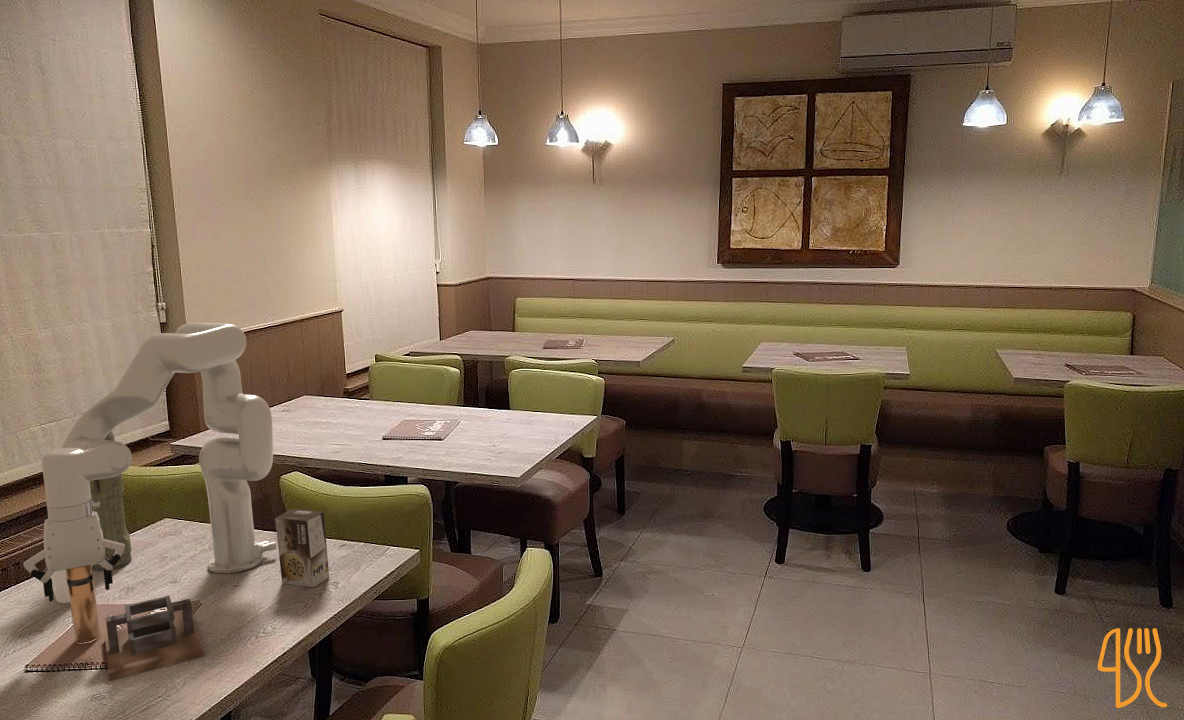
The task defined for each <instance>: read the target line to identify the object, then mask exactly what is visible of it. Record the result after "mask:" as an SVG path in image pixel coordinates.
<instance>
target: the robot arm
mask: <svg viewBox="0 0 1184 720" xmlns="http://www.w3.org/2000/svg"><path fill="white" fill-rule="evenodd" d="M246 347H247V337H246V335H245V332H244V331H243V329H241V328H240V327H239V326H238V325H235V324H231V323H217V322H216V323H215V322H212V323H211V322H189V323H185V324H182V325H180V326H179V327H178V328H177V329H176V331H175V332H174V333H171V332H170V333H166V332H162V333H154V334H152V335H150V336H148V337H147V338H145V340H143V343H142V344H141V345H140V347H139V349H138V350H137V352H136V354H135V355H134V357H133V359H132V360H131V362H130V364H129V365H128V368H127V369H126V370H125V372H124V373H123V376H122V377H121V378H120V380H119V382H118V384H117V385H116V387H115V388H114V389H113V390H112V391H111V392H109V393H108V394H106V395H105V396H103V398H101V399H100V400H99V401H97V402H96V403H95V404H94V405H92V406H91V407H90V408H88V409H87V410H86V411H85V412H84V413H83V414H82V415H81V416H79V418H78V420H77V421H76V422H75V424H74V425H73V427H72V428H71V431H70V432H69V433H68V435H67V436H66V438H65V440H64V443H63V444H62V447H61V448H57V449H52V450H50V451H48V452H46V453H45V454H44V455H43V456H42V458H41V467H42V474H43V483H44V491H45V500H46V508H47V518H46V519H45V520H44V524H43V525H44V526H43V549H42V550H40V551H38V553H36V554H34V555H33V556H31V557H29V558H28V559H26V560H24V562H23V567H24V568H25V570H26V571H27V572H28V573H29V574H30V575H31V577H33V578H35V579H37V580H39V581H40V582H41V583H42V584H43V595H44V597H45V598H46V597H48V602H50V603H51V602H53V601H54V597H55V591H54V587H53V583H52V578H51V576H52V575H53V574H54V572H55V571H62V570H67V569H73V568H78V567H83V566H89V565H91V566H92V565H94V564H97V563H98V564H99V565H101V566H102V567H104V568H103V571H102V572H103V579H104V589H105V590H106V591H110V585H112V584H113V572H112V570H114V569H113V567H114V565H115V564H116V563H117V562H118V561H119V560H120V557H121V555H122V553H123V551H124V549H125V545H124V544H123V543H119V542H114V541H110V540H106V539H103V533H102V528H101V523H100V520H99V517H98V514H97V512H94V511H93V510H94V509H96V508H99V507H101V506H100V501H93V500H91V491H90V481H93V480H99V479H106V478H112V477H116V476H118V475H120V474H122V475H123V474H124V473H125V472H126V471H127V470H128V469H129V468H130V466H131V465H132V461H133V454H132V452H131V449H130V448H129V447H128V446H127V445H126V444H124V443H123V442H119V441H116V440H115V441H110V440H104V439H105V437H106V436H107V435H108V433H109V432H110V431H111V430H112V431H113V430H114V429H115V428H116V427H118V426H119V425H120V424H122V423H124V422H127V421H128V420H130V419H133V418H135V417H138V416H141V415H143V414H145V413H147V412H149V411H151V410H153V409H154V408H155V407H156V406H157V405H158V402H159V400H160V399H161V397H162V396H163V393H164V392H165V390H166V388H167V386H168V385H169V384H170V381H171V379H172V378H173V377H174V375H175V374H176V373H181V374H182V373H183V374H193V373H199V372H200V376H201V381H202V382H201V383H202V398H203V399H202V401H203V415H204V417H203V418H204V422H205V425H206V427H207V428H208V429H209V430H211V431H213V432H217V433H223V434H229V435H230V434H232V435H233V434H234V435H238V437H237V438H236V437H235V438H234V437H226V436H225V437H224V436H223V437H221V436H220V437H215V438H213V439H210V440H208V441H207V442H205V443H204V445H203V446H202V448H201V449H200V452H199V456H198V461H199V467H200V471H201V473H202V477H203V479H204V482H205V488H206V493H207V500H208V510H209V511H208V512H209V518H210V529H211V531H210V532H211V538H212V540H211V541H212V548H213V557H212V558H211V559H209V561H207V568H208V570H209V571H211V572H213V573H215V574H216V573H217V574H232V573H233V574H234V573H238V572H243V571H246V570H249V569H252V568H255V567H257V566H258V565H259V564H262V562H263V561H264V552H270V551H275V550H277V543H276V541H273V542H269V541H268V540H266V541H262V542H258V541H257V540H256V537H255V526H254V518H253V509H252V508H253V507H252V494H251V489H250V486H249V483H248V481H252V482H256V481H260V480H262V479H264V478H266V476H268V474H269V473H270V471H271V469H272V467H273V461H274V445H273V443H274V442H273V440H274V438H273V417H272V411H271V408H270V405H269V404H268V403H267V401H265V399H264V398H262V396H261V397H260V396H258V395H255V394H247V393H246V394H244V393H243V387H242V385H243V384H242V377H241V376H242V375H241V370H240V366H239V364H238V362H237V361H236V360H237V359H239V358H240V357H241V356H242V355H243V353H245V350H246ZM105 547H107V548H111V549H115V550H116V551H115V553H114V555H113V556H112V557H111V558H110V559H108V558H106V557H105ZM42 560H44V561H45V567H46V568H45V569H44V570H41V569H39V568H38V567H36V564H37V563H39V562H41V561H42Z"/></svg>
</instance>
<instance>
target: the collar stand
mask: <svg viewBox="0 0 1184 720" xmlns="http://www.w3.org/2000/svg"><path fill="white" fill-rule="evenodd" d="M164 608H166V610H163V611H158V612H153V613H150V614H146V615H141V616H138V617H137V616H136V617H132V616H134V615H138V614H143V613H149V612H151V611H157V610H160V609H164ZM180 611H182V615H180V616H175V612H180ZM124 612H125V613H122V614H116V615H112V616H107V617H105V624H106V632H107V633H105V634H104V640H105V651H106V662H107V671H108V672H107V673H108V679H109V681H114V680H117V679H123V678H125V677H129V676H134V675H136V674H137V675H138V674H140V673H144V672H148V671H151V670H152V671H153V670H157V669H159V668H164V667H166V666H171V665H175V664H178V663H183V662H186V661H187V662H188V661H190V660H195V659H197V658H198V659H199V658H201V657H205V654H204V648H203V645H202V642H201V641H202V640H201V638H200V635H199V632H198V629H197V626H196V624H195V623H196V622H195V619H194V617H193V607H192V601H191V599H190V598H187V599H182V600H176V601H172V600H171V596H170V595H166V596H162V597H157V598H153V599H147V600H143V601H138V602H135V603H130V604H125V605H124ZM124 624H126V627H127V628H125V629H124V628H123V629H119V630H118V627H117V626H120V625H124Z"/></svg>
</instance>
